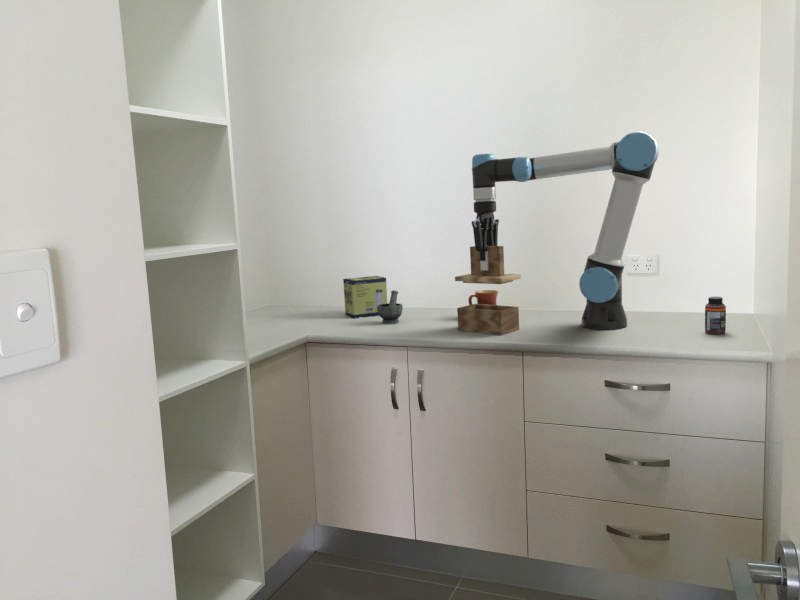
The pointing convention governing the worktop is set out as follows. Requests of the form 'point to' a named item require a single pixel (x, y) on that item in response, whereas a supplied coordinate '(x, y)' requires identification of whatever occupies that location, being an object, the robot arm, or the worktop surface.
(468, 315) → the box
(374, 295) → the protein box
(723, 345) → the worktop surface
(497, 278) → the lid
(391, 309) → the mortar and pestle
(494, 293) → the mug
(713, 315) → the supplement bottle
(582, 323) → the robot arm
